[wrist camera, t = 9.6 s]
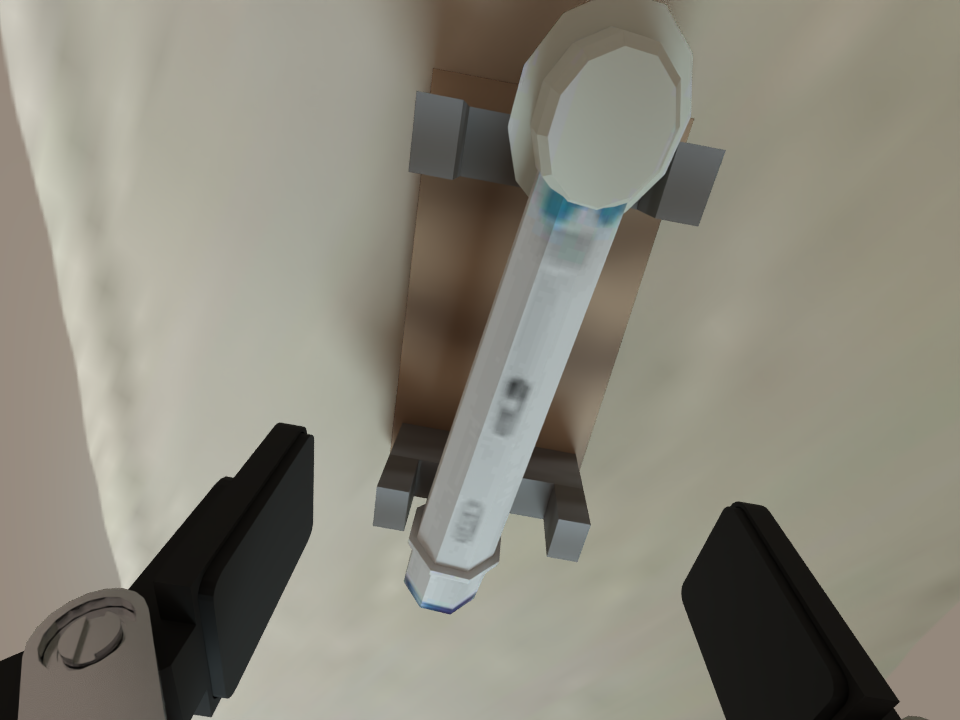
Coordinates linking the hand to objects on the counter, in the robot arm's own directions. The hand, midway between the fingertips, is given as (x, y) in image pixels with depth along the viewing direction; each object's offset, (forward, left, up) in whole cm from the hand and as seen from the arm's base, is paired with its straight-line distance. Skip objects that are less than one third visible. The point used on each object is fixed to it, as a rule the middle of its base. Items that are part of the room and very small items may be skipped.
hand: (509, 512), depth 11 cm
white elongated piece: (+1, 0, -11) cm, 11 cm away
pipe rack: (+1, 0, -16) cm, 16 cm away
